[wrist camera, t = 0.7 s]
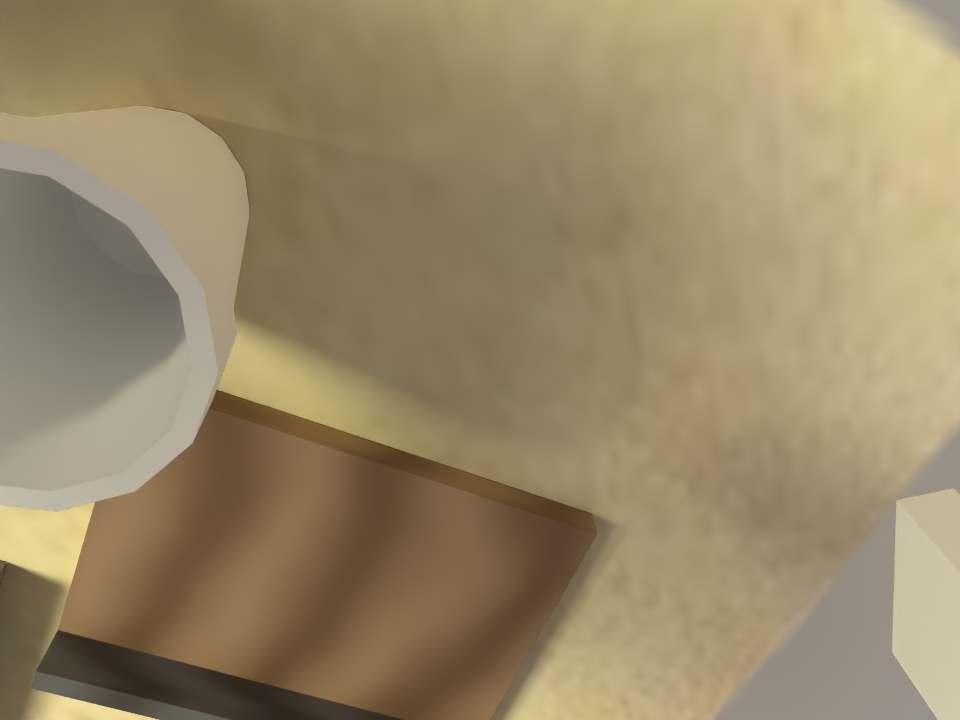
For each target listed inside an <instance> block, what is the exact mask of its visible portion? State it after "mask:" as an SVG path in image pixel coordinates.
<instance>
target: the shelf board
mask: <svg viewBox="0 0 960 720" xmlns="http://www.w3.org/2000/svg"><path fill="white" fill-rule="evenodd" d="M596 535H597V532H596V529H595V526H594V522H593V519H592V515H591V514H590V513H587V512H584V511H581V510H578V509H575V508H572V507H569V506H566V505H563V504H560V503H557V502H554V501H551V500H548V499H545V498H542V497H539V496H536V495H533V494H530V493H527V492H524V491H521V490H518V489H515V488H511V487H508V486H505V485H502V484H499V483H496V482H493V481H490V480H487V479H484V478H481V477H478V476H475V475H472V474H469V473H466V472H463V471H460V470H457V469H454V468H451V467H448V466H445V465H442V464H439V463H436V462H433V461H430V460H427V459H423V458H420V457H417V456H414V455H411V454H408V453H405V452H402V451H399V450H396V449H393V448H390V447H387V446H384V445H381V444H378V443H375V442H372V441H369V440H366V439H363V438H360V437H357V436H354V435H351V434H348V433H345V432H342V431H339V430H335V429H332V428H329V427H326V426H323V425H320V424H317V423H314V422H311V421H308V420H305V419H302V418H299V417H296V416H293V415H290V414H287V413H284V412H281V411H278V410H275V409H272V408H269V407H266V406H263V405H260V404H257V403H254V402H251V401H247V400H244V399H241V398H238V397H235V396H232V395H229V394H226V393H223V392H220V391H217V390H216V393H215V395H214V398H213V400H212V403H211V405H210V407H209V409H208V411H207V413H206V415H205V418H204V420H203V422H202V424H201V426H200V428H199V430H198V433H197V435H196V437H195V439H194V441H193V443H192V444H191V445H190V446H189V447H187V448H186V449H185V450H184V451H183V452H182V453H180V454H179V455H178V456H177V457H176V458H174V459H173V460H172V461H171V462H170V463H168V464H167V465H166V466H165V467H164V468H163V469H161V470H160V471H159V472H158V473H157V474H155V475H154V476H153V477H152V478H151V479H149V480H148V481H147V482H146V483H145V484H144V485H142V486H141V487H140V488H139V489H138V490H136V491H135V492H132V493H128V494H124V495H120V496H116V497H112V498H108V499H104V500H100V501H96V502H95V505H94V508H93V512H92V515H91V518H90V522H89V525H88V529H87V532H86V536H85V539H84V543H83V546H82V549H81V553H80V556H79V560H78V563H77V567H76V570H75V574H74V577H73V580H72V584H71V587H70V591H69V594H68V598H67V601H66V605H65V608H64V611H63V615H62V618H61V622H60V625H59V629H58V631H57V633H56V635H55V637H54V639H53V641H52V642H51V644H50V646H49V648H48V650H47V652H46V654H45V655H44V657H43V659H42V661H41V663H40V665H39V667H38V669H37V670H36V673H35V677H34V680H33V684H32V687H31V688H32V689H36V690H40V691H44V692H48V693H53V694H57V695H61V696H65V697H69V698H73V699H77V700H81V701H85V702H90V703H94V704H98V705H102V706H106V707H110V708H114V709H118V710H122V711H126V712H131V713H135V714H139V715H143V716H147V717H151V718H155V719H159V720H490V719H491V717H492V716H493V714H494V712H495V710H496V709H497V707H498V705H499V703H500V702H501V700H502V698H503V696H504V695H505V693H506V691H507V690H508V688H509V686H510V684H511V683H512V681H513V679H514V677H515V676H516V674H517V672H518V670H519V669H520V667H521V665H522V663H523V662H524V660H525V658H526V657H527V655H528V653H529V651H530V650H531V648H532V646H533V644H534V643H535V641H536V639H537V637H538V636H539V634H540V632H541V631H542V629H543V627H544V625H545V624H546V622H547V620H548V618H549V617H550V615H551V613H552V611H553V610H554V608H555V606H556V604H557V603H558V601H559V599H560V598H561V596H562V594H563V592H564V591H565V589H566V587H567V585H568V584H569V582H570V580H571V578H572V577H573V575H574V573H575V571H576V570H577V568H578V566H579V565H580V563H581V561H582V559H583V558H584V556H585V554H586V552H587V551H588V549H589V547H590V545H591V544H592V542H593V540H594V538H595V537H596Z"/></svg>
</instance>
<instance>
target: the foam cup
mask: <svg viewBox="0 0 960 720" xmlns="http://www.w3.org/2000/svg"><path fill="white" fill-rule="evenodd" d="M249 211H250V209H249V201H248V194H247V187H246V180H245V173H244V171H243V170H242V168H241V166H240V165H239V163H238V162H237V160H236V159H235V157H234V156H233V154H232V152H231V151H230V149H229V148H228V146H227V145H226V143H225V142H224V140H223V138H222V137H220V136H219V135H217V134H216V133H214V132H213V131H211V130H210V129H209V128H207V127H206V126H204V125H203V124H201V123H200V122H198V121H197V120H195V119H194V118H192V117H191V116H189V115H188V114H186V113H182V112H176V111H171V110H166V109H160V108H155V107H150V106H132V107H122V108H113V109H103V110H94V111H84V112H75V113H65V114H56V115H47V116H37V117H25V116H20V115H14V114H9V113H3V112H0V505H7V506H15V507H23V508H31V509H39V510H47V511H55V512H57V511H61V510H64V509H68V508H72V507H76V506H80V505H84V504H88V503H92V502H96V501H100V500H104V499H108V498H112V497H116V496H120V495H124V494H128V493H132V492H135V491H136V490H138V489H139V488H140V487H141V486H142V485H144V484H145V483H146V482H147V481H148V480H149V479H151V478H152V477H153V476H154V475H155V474H157V473H158V472H159V471H160V470H161V469H163V468H164V467H165V466H166V465H167V464H168V463H170V462H171V461H172V460H173V459H174V458H176V457H177V456H178V455H179V454H180V453H182V452H183V451H184V450H185V449H186V448H187V447H189V446H190V445H191V444H192V443H193V441H194V439H195V437H196V435H197V433H198V430H199V428H200V426H201V424H202V422H203V420H204V418H205V415H206V413H207V411H208V409H209V407H210V405H211V403H212V400H213V398H214V395H215V393H216V390H217V387H218V384H219V382H220V379H221V376H222V373H223V371H224V368H225V365H226V362H227V360H228V357H229V354H230V351H231V349H232V346H233V343H234V340H235V338H236V335H237V328H236V321H235V315H234V303H235V297H236V291H237V285H238V279H239V274H240V268H241V262H242V256H243V250H244V244H245V238H246V233H247V227H248V221H249Z"/></svg>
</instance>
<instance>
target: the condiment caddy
mask: <svg viewBox="0 0 960 720" xmlns="http://www.w3.org/2000/svg"><path fill="white" fill-rule="evenodd" d="M5 564H6V562H3V561H0V584H1V580H2V576H3V572H4V568H5Z"/></svg>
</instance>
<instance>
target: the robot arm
mask: <svg viewBox="0 0 960 720" xmlns="http://www.w3.org/2000/svg"><path fill="white" fill-rule="evenodd" d="M892 632H893V633H892V653H893V655H894V656H895V657H896V659H897V660H898V662H899V663H900V665H901V666H902V668H903V669H904V671H905V672H906V674H907V675H908V677H909V678H910V679H911V681H912V683H913V684H914V685H915V687H916V688H917V690H918V691H919V692H920V694H921V696H922V697H923V699H924V700H925V701H926V703H927V705H928V706H929V707H930V709H931V710H932V712H933V713H934V715H935V716H936V718H937V719H938V720H960V494H959V493H958V492H957V491H956V490H955V489H954V488H953V489H948V490H943V491H938V492H934V493H929V494H924V495H919V496H914V497H909V498H905V499H900V500H896V532H895V566H894V598H893V631H892Z"/></svg>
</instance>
